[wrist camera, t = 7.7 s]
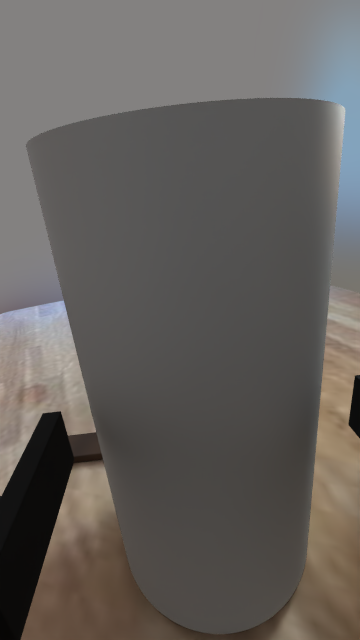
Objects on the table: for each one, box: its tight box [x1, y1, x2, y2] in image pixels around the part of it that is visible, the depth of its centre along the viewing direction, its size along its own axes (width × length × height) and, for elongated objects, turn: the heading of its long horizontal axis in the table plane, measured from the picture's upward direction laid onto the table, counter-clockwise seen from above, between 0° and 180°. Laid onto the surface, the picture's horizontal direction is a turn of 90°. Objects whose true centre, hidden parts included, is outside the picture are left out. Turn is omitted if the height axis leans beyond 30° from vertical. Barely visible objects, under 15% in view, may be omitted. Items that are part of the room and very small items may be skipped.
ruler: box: [68, 432, 103, 463], centre depth 32 cm, size 24×3×1 cm, turn 94°
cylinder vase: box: [26, 98, 345, 634], centre depth 19 cm, size 12×12×25 cm
